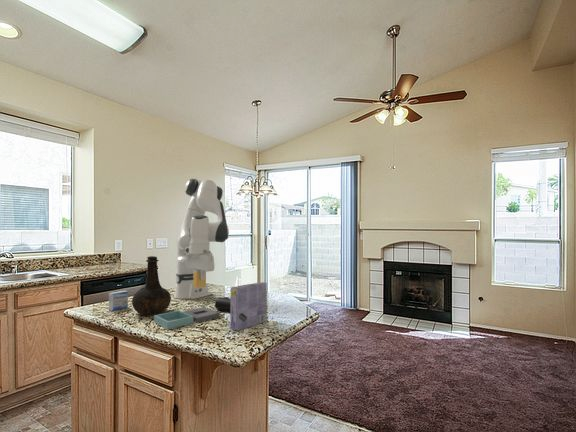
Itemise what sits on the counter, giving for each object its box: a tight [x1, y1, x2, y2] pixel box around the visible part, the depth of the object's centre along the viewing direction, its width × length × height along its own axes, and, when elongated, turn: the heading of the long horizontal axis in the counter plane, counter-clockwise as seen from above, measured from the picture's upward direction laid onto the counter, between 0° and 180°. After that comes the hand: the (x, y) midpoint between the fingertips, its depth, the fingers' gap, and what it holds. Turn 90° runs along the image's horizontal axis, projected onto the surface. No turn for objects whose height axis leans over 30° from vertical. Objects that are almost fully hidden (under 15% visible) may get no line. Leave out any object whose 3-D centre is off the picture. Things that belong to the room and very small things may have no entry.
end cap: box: [214, 296, 231, 313], centre depth 158 cm, size 10×7×7 cm
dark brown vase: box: [131, 255, 172, 316], centre depth 155 cm, size 18×18×28 cm
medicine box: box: [108, 290, 129, 312], centre depth 163 cm, size 8×4×9 cm, turn 143°
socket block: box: [182, 306, 220, 324], centre depth 147 cm, size 12×14×2 cm
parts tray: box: [153, 310, 194, 330], centre depth 138 cm, size 12×14×4 cm
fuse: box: [193, 270, 207, 288], centre depth 147 cm, size 5×3×8 cm, turn 135°
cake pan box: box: [230, 281, 268, 332], centre depth 137 cm, size 19×5×18 cm, turn 141°
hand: (199, 279), depth 147 cm, fingers closed on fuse, 3 cm apart
